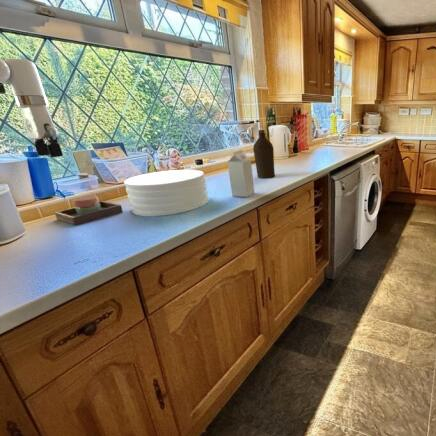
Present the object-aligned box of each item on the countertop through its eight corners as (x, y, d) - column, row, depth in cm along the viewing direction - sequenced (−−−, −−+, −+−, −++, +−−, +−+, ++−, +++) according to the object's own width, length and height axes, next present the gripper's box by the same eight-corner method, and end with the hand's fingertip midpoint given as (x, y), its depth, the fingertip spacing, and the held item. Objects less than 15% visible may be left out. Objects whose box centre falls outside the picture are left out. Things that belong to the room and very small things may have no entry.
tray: (74, 225, 102) (72, 217, 101) (56, 219, 108) (54, 212, 107) (122, 211, 115) (120, 204, 114) (104, 207, 121) (102, 200, 120)
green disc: (83, 218, 107) (81, 210, 106) (73, 215, 110) (71, 207, 109) (106, 212, 113) (104, 204, 112) (96, 209, 116) (94, 202, 115)
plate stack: (222, 200, 125) (218, 173, 121) (155, 221, 104) (147, 188, 100) (184, 192, 140) (179, 167, 136) (118, 208, 119) (110, 180, 115)
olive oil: (278, 177, 165) (274, 129, 157) (259, 179, 161) (253, 131, 152) (272, 173, 174) (268, 128, 166) (254, 176, 170) (249, 130, 161)
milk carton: (232, 196, 130) (225, 152, 124) (240, 192, 137) (234, 149, 130) (247, 197, 128) (241, 152, 122) (254, 193, 135) (249, 149, 128)
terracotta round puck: (81, 210, 105) (78, 202, 104) (71, 207, 109) (68, 199, 108) (104, 204, 112) (101, 196, 110) (94, 202, 115) (91, 194, 114)
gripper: (6, 103, 98) (26, 156, 104) (27, 101, 90) (47, 158, 96) (36, 103, 104) (53, 153, 110) (58, 101, 96) (75, 155, 102)
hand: (50, 155), depth 103 cm, fingers open, 9 cm apart
